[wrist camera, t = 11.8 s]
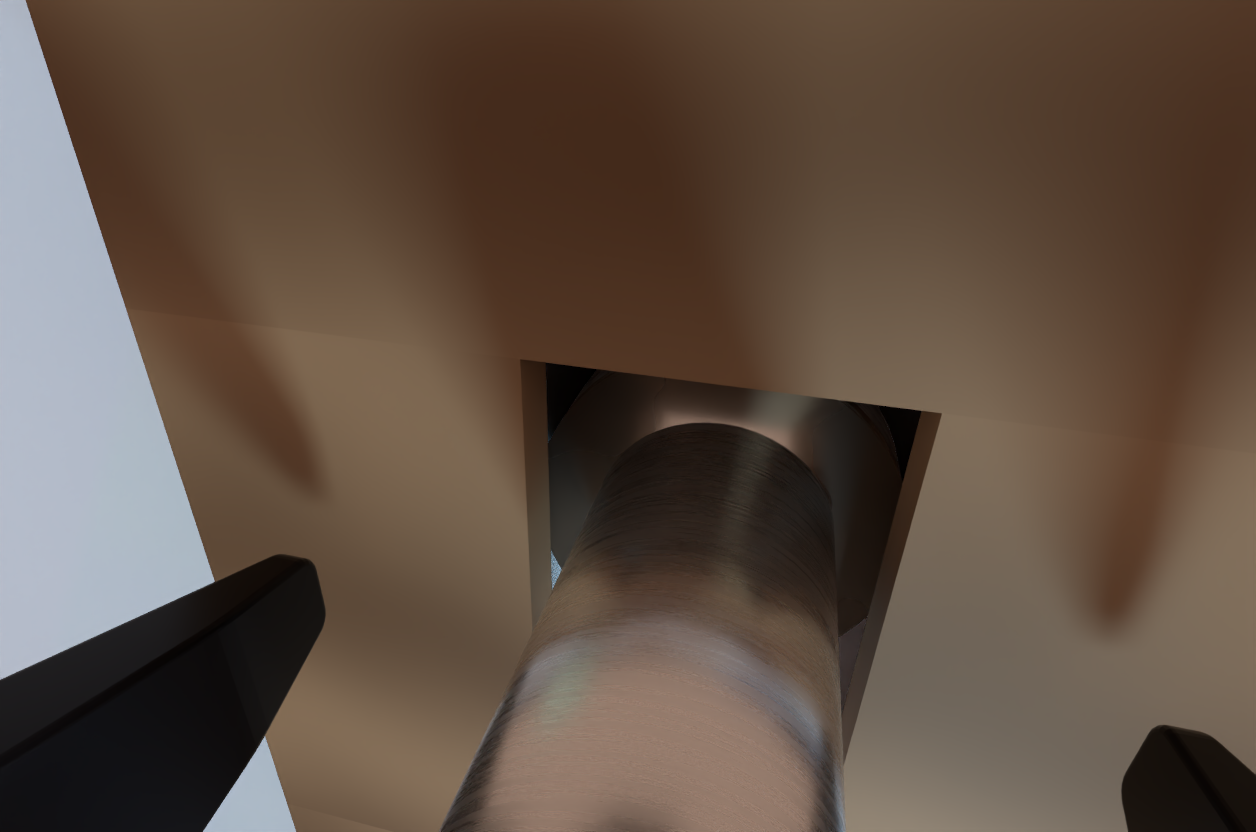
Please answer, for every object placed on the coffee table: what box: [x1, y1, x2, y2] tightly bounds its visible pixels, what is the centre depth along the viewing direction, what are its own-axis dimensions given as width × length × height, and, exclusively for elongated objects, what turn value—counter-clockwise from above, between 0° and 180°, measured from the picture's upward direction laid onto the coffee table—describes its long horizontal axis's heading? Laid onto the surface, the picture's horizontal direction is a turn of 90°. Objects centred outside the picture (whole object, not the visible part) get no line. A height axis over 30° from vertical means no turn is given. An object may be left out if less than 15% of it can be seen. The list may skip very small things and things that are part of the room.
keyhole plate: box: [26, 0, 1256, 832], centre depth 11 cm, size 20×14×3 cm
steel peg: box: [439, 369, 903, 832], centre depth 8 cm, size 5×5×7 cm
